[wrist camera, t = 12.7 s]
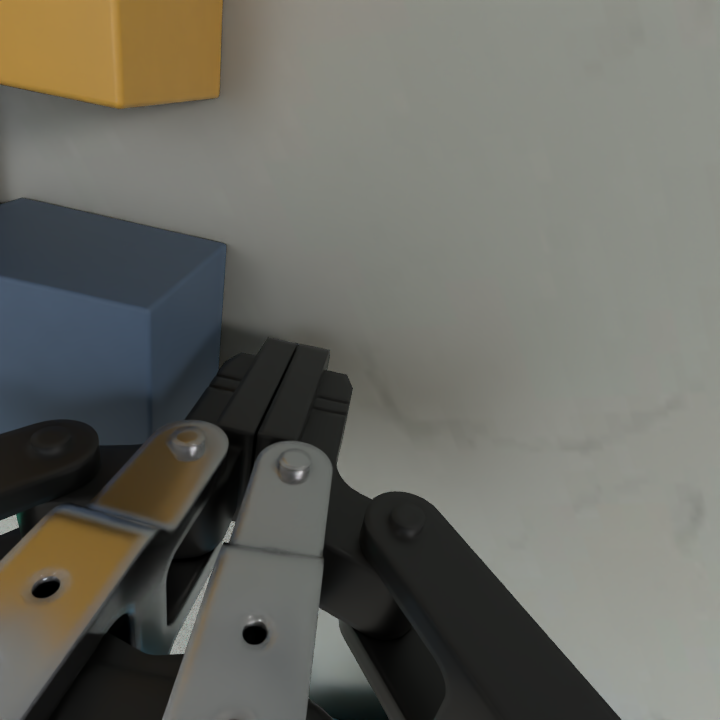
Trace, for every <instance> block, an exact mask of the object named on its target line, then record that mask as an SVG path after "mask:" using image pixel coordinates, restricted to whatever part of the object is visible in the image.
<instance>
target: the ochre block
mask: <svg viewBox="0 0 720 720" xmlns="http://www.w3.org/2000/svg"><path fill="white" fill-rule="evenodd" d="M222 5H223V0H0V85H5V86H10V87H15V88H19V89H24V90H29V91H34V92H39V93H44V94H48V95H53V96H58V97H63V98H68V99H73V100H77V101H82V102H87V103H92V104H97V105H102V106H106V107H111V108H116V109H125V108H134V107H143V106H152V105H160V104H169V103H178V102H187V101H196V100H205V99H214V98H218V96H219V92H220V63H221V34H222Z"/></svg>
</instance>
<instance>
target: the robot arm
mask: <svg viewBox="0 0 720 720" xmlns="http://www.w3.org/2000/svg"><path fill="white" fill-rule="evenodd" d="M329 356H330V350H327V349H322V348H317V347H313V346H308V345H303V344H300V345H299V344H298V343H293V342H289V341H284V340H279V339H275V338H270V337H268V338H267V339H266V341H265V342H264V344H263V346H262V347H261V349H260V351H259V352H258V354H257V355H251V354H246V353H240V354H238V355H236V356H234V357H233V358H231V359H229V360H227V361H225V363H224V364H223V366H222V367H221V368H220V370H219V371H218V373H217V375H216V376H215V377H214V378H213V380H212V381H211V383H210V385H209V387H207V388H206V390H205V391H204V393H203V394H202V395H201V397H200V398H199V400H198V401H197V402H196V404H195V405H194V407H193V408H192V410H191V411H190V412H189V414H188V415H187V417H186V418H185V419H184V420H180V421H175V422H171V423H168V424H166V425H164V426H162V427H160V428H159V429H157V430H156V431H155V432H154V433H153V434H152V435H151V436H150V437H149V438H148V439H147V440H146V441H145V442H144V444H136V445H99V438H98V434H97V432H96V431H95V430H94V429H93V428H92V427H91V426H90V425H88V424H86V423H83V422H80V421H76V420H69V419H56V420H48V421H43V422H39V423H36V424H32V425H29V426H26V427H22V428H19V429H15V430H12V431H9V432H5V433H2V434H0V520H3V519H5V518H8V517H10V516H13V515H15V514H16V516H17V520H18V525H19V528H17V529H15V530H12V531H10V532H7V533H5V534H3V535H0V720H334V719H333V718H331V717H330V716H329V715H328V714H327V713H326V712H325V711H324V710H323V709H322V708H321V707H320V706H318V705H317V704H316V703H315V702H313V701H312V700H311V699H309V698H308V697H309V688H310V680H311V671H312V663H313V654H314V645H315V637H316V628H317V619H318V611H319V608H321V609H323V610H324V611H326V612H328V613H329V614H331V615H333V616H334V617H336V618H338V619H339V627H340V630H341V633H342V635H343V637H344V639H345V641H346V643H347V645H348V646H349V648H350V650H351V652H352V654H353V655H354V657H355V659H356V661H357V662H358V664H359V666H360V668H361V670H362V671H363V673H364V675H365V677H366V678H367V680H368V682H369V684H370V686H371V687H372V689H373V691H374V693H375V695H376V696H377V698H378V700H379V702H380V703H381V705H382V707H383V709H384V711H385V712H386V714H387V716H388V718H389V720H621V719H620V717H619V716H618V715H617V714H616V713H615V712H614V711H613V710H612V708H611V707H610V706H609V705H608V704H607V703H606V702H605V700H604V699H603V698H602V697H601V696H600V695H599V694H598V692H597V691H596V690H595V689H594V688H593V687H592V686H591V684H590V683H589V682H588V681H587V680H586V679H585V678H584V676H583V675H582V674H581V673H580V672H579V671H578V670H577V668H576V667H575V666H574V665H573V664H572V663H571V662H570V660H569V659H568V658H567V657H566V656H565V655H564V654H563V652H562V651H561V650H560V649H559V648H558V647H557V646H556V644H555V643H554V642H553V641H552V640H551V639H550V638H549V637H548V635H547V634H546V633H545V632H544V631H543V630H542V629H541V627H540V626H539V625H538V624H537V623H536V622H535V621H534V619H533V618H532V617H531V616H530V615H529V614H528V613H527V611H526V610H525V609H524V608H523V607H522V606H521V605H520V603H519V602H518V601H517V600H516V599H515V598H514V597H513V595H512V594H511V593H510V592H509V591H508V590H507V589H506V587H505V586H504V585H503V584H502V583H501V582H500V581H499V579H498V578H497V577H496V576H495V575H494V574H493V573H492V571H491V570H490V569H489V568H488V567H487V566H486V565H485V563H484V562H483V561H482V560H481V559H480V558H479V557H478V556H477V554H476V553H475V552H474V551H473V550H472V549H471V548H470V546H469V545H468V544H467V543H466V542H465V541H464V540H463V538H462V537H461V536H460V535H459V534H458V533H457V532H456V530H455V529H454V528H453V527H452V526H451V525H450V524H449V522H448V521H447V520H446V519H445V518H444V517H443V516H442V514H441V513H440V512H439V511H438V510H437V509H436V508H435V507H434V506H433V505H432V504H430V503H429V502H428V501H426V500H425V499H423V498H421V497H419V496H416V495H414V494H410V493H406V492H396V491H395V492H387V493H383V494H381V495H378V496H377V497H375V498H374V499H373V500H372V499H370V498H368V497H366V496H364V495H362V494H360V493H358V492H357V491H355V490H354V489H352V488H351V487H349V486H348V485H347V484H346V483H345V482H344V480H343V479H342V478H341V476H340V474H339V472H338V470H337V461H338V456H339V452H340V447H341V443H342V439H343V434H344V429H345V424H346V419H347V414H348V409H349V404H350V400H351V395H352V390H353V388H352V385H351V383H350V381H349V379H348V376H347V375H346V374H341V373H336V372H332V371H327V369H328V363H329ZM231 521H235V522H236V523H235V526H234V529H233V532H232V535H231V538H230V541H229V543H226V542H224V543H223V545H222V540H223V538H224V536H225V534H226V532H227V529H228V527H229V525H230V522H231ZM212 569H213V570H212ZM211 571H212V573H211ZM210 573H211V576H210V579H209V582H208V585H207V588H206V591H205V594H204V597H203V600H202V603H201V606H200V609H199V612H198V615H197V618H196V621H195V624H194V627H193V630H192V633H191V636H190V639H189V642H188V644H187V647H186V650H185V653H184V654H174V655H170V652H171V649H172V646H173V643H174V641H175V639H176V637H177V635H178V633H179V631H180V629H181V627H182V625H183V623H184V621H185V620H186V618H187V616H188V614H189V612H190V610H191V608H192V606H193V605H194V603H195V601H196V599H197V597H198V595H199V593H200V591H201V589H202V588H203V586H204V584H205V582H206V580H207V578H208V576H209V574H210Z"/></svg>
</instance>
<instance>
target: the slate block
mask: <svg viewBox="0 0 720 720" xmlns="http://www.w3.org/2000/svg"><path fill="white" fill-rule="evenodd" d="M225 263H226V244H224V243H220V242H216V241H212V240H207V239H203V238H198V237H194V236H189V235H185V234H181V233H176V232H172V231H167V230H163V229H159V228H154V227H150V226H145V225H141V224H136V223H132V222H128V221H123V220H119V219H114V218H110V217H105V216H101V215H97V214H92V213H88V212H83V211H79V210H75V209H70V208H66V207H61V206H57V205H52V204H48V203H44V202H39V201H35V200H30V199H26V198H20V199H16V200H13V201H10V202H6V203H3V204H0V434H2V433H5V432H9V431H12V430H15V429H19V428H22V427H26V426H29V425H32V424H36V423H39V422H43V421H48V420H56V419H69V420H76V421H80V422H83V423H86V424H88V425H90V426H91V427H92V428H93V429H94V430H95V431H96V432H97V434H98V438H99V445H136V444H144V442H145V441H146V440H147V439H148V438H149V437H150V436H151V435H152V434H153V433H154V432H155V431H156V430H157V429H159V428H160V427H162V426H164V425H166V424H168V423H171V422H175V421H180V420H184V419H185V418H186V417H187V415H188V414H189V412H190V411H191V410H192V408H193V407H194V405H195V404H196V402H197V401H198V400H199V398H200V397H201V395H202V394H203V393H204V391H205V390H206V388H207V387H209V385H210V383H211V381H212V380H213V378H214V377H215V376H216V375H217V373H218V369H219V354H220V339H221V323H222V308H223V293H224V278H225Z"/></svg>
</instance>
